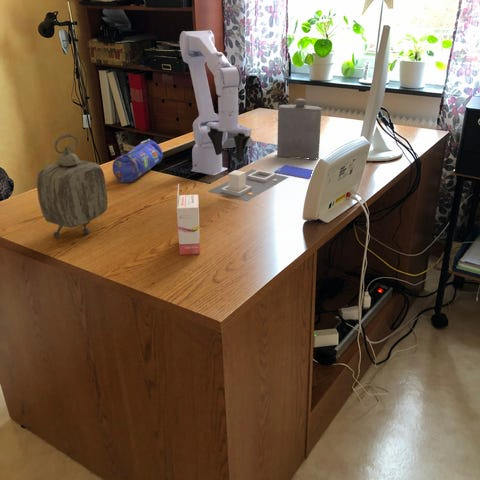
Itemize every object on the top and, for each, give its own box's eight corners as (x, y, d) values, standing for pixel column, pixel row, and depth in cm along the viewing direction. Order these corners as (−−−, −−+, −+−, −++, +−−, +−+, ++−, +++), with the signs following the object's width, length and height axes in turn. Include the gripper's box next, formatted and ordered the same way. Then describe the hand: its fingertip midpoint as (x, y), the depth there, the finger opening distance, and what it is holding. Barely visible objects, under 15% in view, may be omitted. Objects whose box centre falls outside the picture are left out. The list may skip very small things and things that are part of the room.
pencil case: (142, 162, 187) (140, 135, 183) (165, 164, 185) (163, 137, 181) (112, 183, 168) (108, 154, 164) (137, 186, 166) (134, 156, 162)
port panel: (207, 192, 160) (207, 188, 159) (251, 170, 177) (251, 166, 177) (246, 202, 152) (246, 197, 152) (288, 178, 170) (288, 174, 170)
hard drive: (274, 171, 174) (309, 177, 168) (285, 164, 180) (319, 170, 174) (274, 175, 175) (308, 182, 169) (285, 168, 181) (319, 175, 175)
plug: (228, 191, 159) (228, 173, 157) (236, 187, 162) (236, 169, 160) (238, 193, 158) (238, 175, 155) (246, 189, 160) (246, 171, 158)
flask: (320, 155, 192) (323, 98, 183) (317, 160, 187) (320, 102, 178) (279, 152, 196) (280, 96, 187) (275, 156, 191) (276, 99, 182)
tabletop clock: (88, 218, 143) (75, 125, 132) (114, 225, 139) (102, 130, 128) (45, 239, 132) (27, 139, 121) (72, 247, 128) (55, 145, 117)
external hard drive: (254, 148, 202) (254, 138, 200) (203, 152, 199) (202, 141, 197) (247, 139, 213) (247, 129, 212) (199, 142, 210) (198, 132, 208)
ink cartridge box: (200, 254, 124) (198, 195, 118) (179, 255, 124) (175, 196, 117) (200, 238, 132) (197, 181, 125) (179, 239, 132) (176, 182, 125)
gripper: (199, 110, 155) (201, 155, 161) (241, 116, 148) (241, 163, 154) (214, 105, 161) (215, 149, 167) (255, 111, 153) (255, 157, 159)
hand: (229, 156), depth 161 cm, fingers open, 7 cm apart
